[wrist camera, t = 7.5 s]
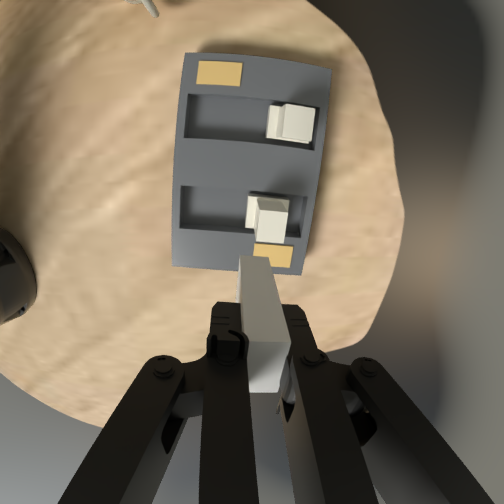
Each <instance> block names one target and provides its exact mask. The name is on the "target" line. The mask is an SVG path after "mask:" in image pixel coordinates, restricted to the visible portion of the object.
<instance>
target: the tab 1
mask: <svg viewBox="0 0 504 504" xmlns="http://www.w3.org/2000/svg"><path fill="white" fill-rule="evenodd" d="M288 207H289V199H288V198H287V197H282V196H272V195H262V194H252V193H248V198H247V208H246V218H245V228H254V232H255V238H256V241H259V242H271V243H283V244H284V237H285V231H286V224H287V218H288Z"/></svg>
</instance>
